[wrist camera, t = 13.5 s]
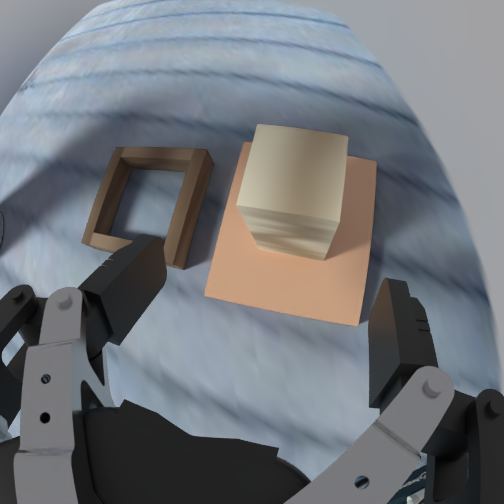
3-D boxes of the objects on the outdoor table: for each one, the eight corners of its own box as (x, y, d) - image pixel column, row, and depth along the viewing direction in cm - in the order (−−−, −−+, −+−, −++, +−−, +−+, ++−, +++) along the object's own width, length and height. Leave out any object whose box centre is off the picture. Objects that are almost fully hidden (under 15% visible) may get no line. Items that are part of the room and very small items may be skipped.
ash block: (259, 249, 23) (236, 204, 14) (272, 190, 24) (257, 123, 15) (323, 261, 22) (339, 221, 13) (332, 200, 23) (348, 135, 14)
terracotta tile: (209, 297, 24) (204, 295, 23) (246, 150, 27) (243, 141, 25) (354, 326, 22) (358, 326, 20) (373, 169, 25) (376, 161, 23)
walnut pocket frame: (96, 249, 27) (81, 242, 25) (127, 158, 29) (116, 147, 27) (184, 269, 25) (172, 264, 23) (213, 163, 27) (206, 149, 25)
